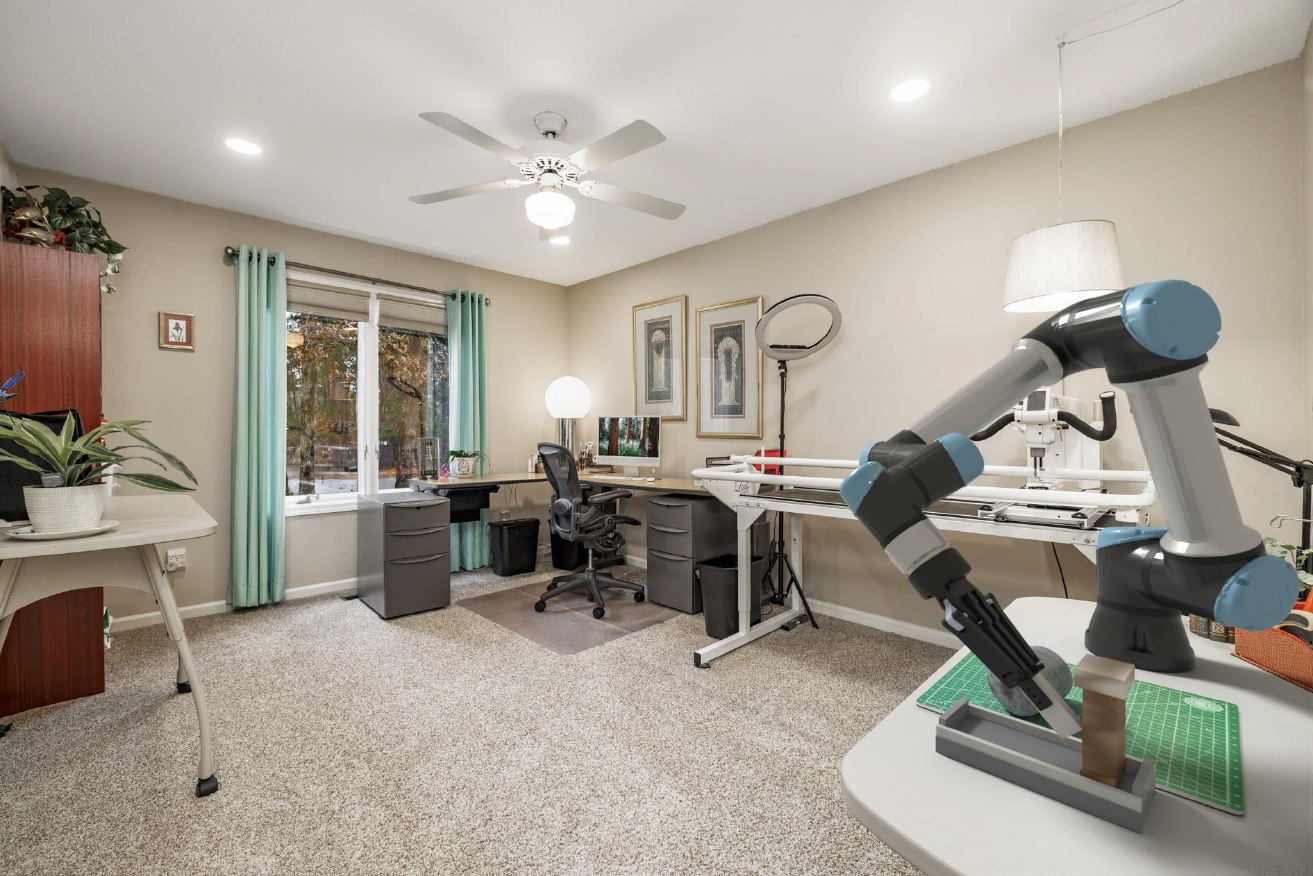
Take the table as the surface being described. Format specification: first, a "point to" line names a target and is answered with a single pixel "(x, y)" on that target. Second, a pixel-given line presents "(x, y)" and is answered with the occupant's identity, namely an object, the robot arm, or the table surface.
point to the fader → (1103, 716)
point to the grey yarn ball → (1053, 673)
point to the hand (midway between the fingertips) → (1073, 732)
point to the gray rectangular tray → (1043, 763)
